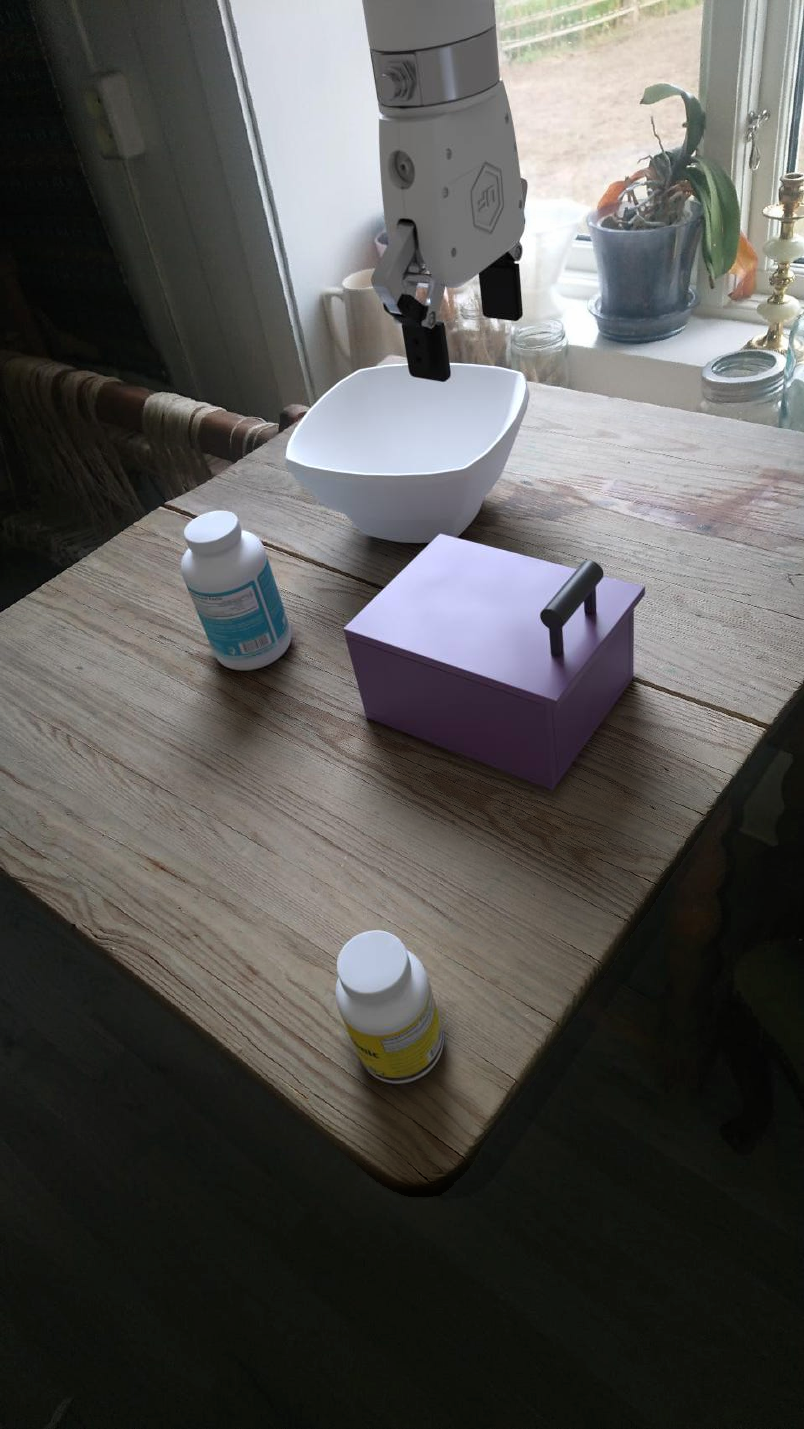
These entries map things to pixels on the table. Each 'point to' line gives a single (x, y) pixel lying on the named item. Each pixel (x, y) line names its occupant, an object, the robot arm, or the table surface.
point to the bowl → (409, 447)
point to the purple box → (493, 709)
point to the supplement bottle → (388, 1007)
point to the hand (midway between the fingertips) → (467, 346)
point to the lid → (498, 617)
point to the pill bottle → (234, 592)
